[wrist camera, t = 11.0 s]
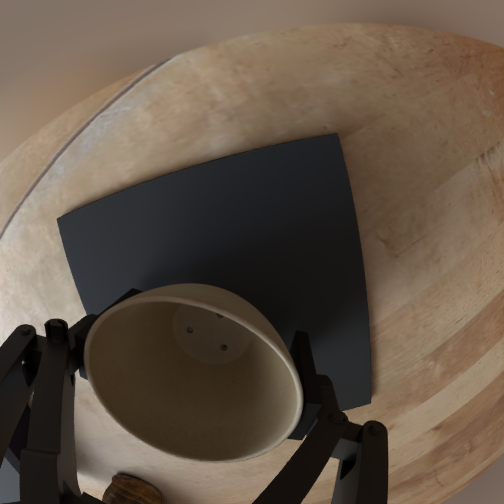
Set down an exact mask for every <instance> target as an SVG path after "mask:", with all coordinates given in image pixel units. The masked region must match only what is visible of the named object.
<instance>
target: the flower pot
mask: <svg viewBox="0 0 504 504" xmlns="http://www.w3.org/2000/svg"><path fill="white" fill-rule="evenodd" d="M217 313H218V314H219V315H217ZM188 331H192V333H189V332H188ZM224 345H226V346H227V347H225V346H224ZM84 366H85V371H86V375H87V378H88V382H89V384H90V386H91V388H92V391H93V393H94V394H95V396H96V398H97V399H98V401H99V403H100V404H101V405H102V407H103V408H104V409H105V411H106V412H107V413H108V414H109V416H110V417H111V418H112V419H113V420H114V421H115V422H116V423H117V424H118V425H119V426H121V427H122V428H123V429H124V430H125V431H126V432H128V433H129V434H130V435H132V436H133V437H135V438H136V439H138V440H139V441H141V442H143V443H144V444H146V445H148V446H150V447H152V448H154V449H156V450H158V451H160V452H163V453H166V454H168V455H171V456H174V457H177V458H181V459H185V460H190V461H195V462H203V463H232V462H240V461H244V460H248V459H251V458H255V457H258V456H260V455H262V454H265V453H267V452H269V451H270V450H272V449H274V448H276V447H277V446H278V445H280V444H281V443H282V442H283V441H285V440H286V439H287V438H288V436H290V435H291V433H292V432H293V431H294V429H295V428H296V426H297V424H298V422H299V420H300V417H301V414H302V410H303V389H302V385H301V382H300V378H299V375H298V372H297V370H296V367H295V365H294V362H293V360H292V358H291V355H290V353H289V351H288V349H287V347H286V346H285V344H284V342H283V340H282V339H281V337H280V336H279V334H278V333H277V331H276V330H275V329H274V327H273V326H272V325H271V323H270V322H269V321H268V320H267V319H266V318H265V316H264V315H262V314H261V313H260V312H259V311H258V310H257V309H256V308H255V307H254V306H252V305H251V304H250V303H249V302H247V301H246V300H244V299H243V298H241V297H240V296H238V295H236V294H234V293H232V292H230V291H228V290H225V289H222V288H219V287H215V286H211V285H205V284H194V283H188V284H175V285H168V286H164V287H159V288H155V289H152V290H149V291H145V292H142V293H140V294H137V295H135V296H133V297H130V298H128V299H126V300H124V301H122V302H120V303H118V304H117V305H115V306H113V307H112V308H110V309H108V310H107V311H106V312H105V313H103V314H102V315H101V316H100V317H99V318H98V319H97V320H96V321H95V323H94V324H93V326H92V327H91V329H90V331H89V333H88V336H87V338H86V342H85V348H84Z"/></svg>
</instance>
